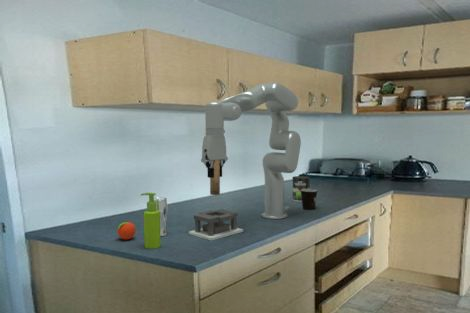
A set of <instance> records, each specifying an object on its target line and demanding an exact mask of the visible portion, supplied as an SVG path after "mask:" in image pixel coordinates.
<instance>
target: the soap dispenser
mask: <svg viewBox="0 0 470 313" xmlns="http://www.w3.org/2000/svg"><path fill="white" fill-rule="evenodd" d="M140 196H148V201H147V202H146V210H144V211H143V232H144V234H143V236H144V237H143V238H144V242H143V243H144V248H145V249H148V250H152V249H158V248H161V244H162V242H161V237H160V211H158V210H156V202H155V201H154V198H155V196H157V193H155V192H144V193H141V194H140Z"/></svg>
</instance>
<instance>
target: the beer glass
mask: <svg viewBox="0 0 470 313" xmlns="http://www.w3.org/2000/svg"><path fill="white" fill-rule="evenodd" d="M154 201H155V202H156V210H158V211H160V237H165V236H167V235H168V233H167V227H166V226H167V225H166V224H167V217H168V201H167V197H154Z"/></svg>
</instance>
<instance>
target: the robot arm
mask: <svg viewBox="0 0 470 313" xmlns="http://www.w3.org/2000/svg"><path fill="white" fill-rule="evenodd" d="M263 104H265V107H266V110H267V111H268V113H269V115H270V117H271V128H270V134H269V140H268V144H269V147H270V149H271V150H276V151H277V152H275V151H274V152H268V153H266V154H265V155H264V156H263V158H262V167H263V173H264V212H262V213H261V217H263V218H265V219H270V220H282V219H285V218H287V217H288V213H287V212H286V211H289V210H290V207H289V206H285V180H284V177H283V174H282V173H284V174H293V173H295V171H296V170H297V168H298V165H299V164H298V163H299V157H300V152H301V144H302V141H301V136H300V133H299V132H297V131H294V130H289V129H290V119H289V117H288V115H287V113H286V112H292V111H294V110H296V109H297V108H298V105H299V99H298V96H297V95H296V94H295V93H294V92H293V91H292V90H291V89H289V88H288V87H286V86H285V85H283V84H282V83H280V82H267V83H261V84H258V85H256V86H254V87H252V88H250V89H248V90H246V91H244V92H241V93H239V94H235V95H233V96H230V97H227V98H224V99H221V100H220V101H216V102H215V101H213V102H212V101H211V102H207V103H206V104H205V111H204V112H205V114H204V115H205V117H204V118H205V135H204V137H203V139H202V147H201V148H202V149H201V158H200V159H201V160H200V161H201V163H203V164H204V165H205V168H206V170H207V178H209V179H210V178H214V168H212V167H213V161H214V160H218V159H219V160H220V178H221V177H222V178H223V168H224V165H225V164H226V162H227V161H228V160H229V157H228V156H227V145H226V137H225V132H226V130H225V128H224V127H225V126H224V125H225V122H227V121H228V122H231V121H232V122H233V121H236V120H238V119H239V118H240V117H241V115H242V112H248V111H252V110H254V109H256V108H257V107H260V106H261V105H263ZM278 151H285V152H278Z"/></svg>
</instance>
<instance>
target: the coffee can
mask: <svg viewBox="0 0 470 313" xmlns="http://www.w3.org/2000/svg"><path fill="white" fill-rule="evenodd" d="M310 179H311V177H310V176H304V175H297V176H295V175H294V176H292V199H291V200H292V201H294V202H298V203H299V202H300V203H302V196H301V190H303V189H311V188H310Z"/></svg>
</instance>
